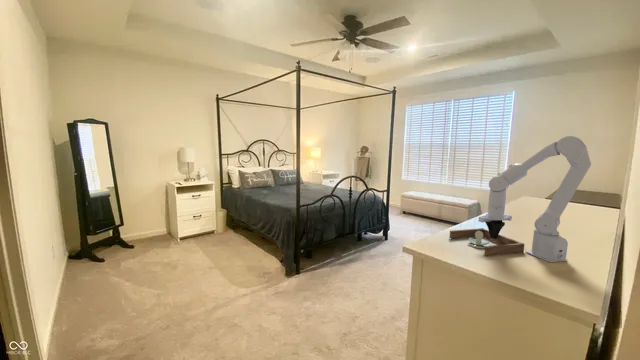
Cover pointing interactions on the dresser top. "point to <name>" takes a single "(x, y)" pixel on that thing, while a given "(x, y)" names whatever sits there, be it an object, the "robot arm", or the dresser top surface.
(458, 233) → the open box
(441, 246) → the dresser top surface
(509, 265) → the dresser top surface
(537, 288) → the dresser top surface
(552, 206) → the robot arm
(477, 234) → the pacifier
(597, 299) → the dresser top surface
